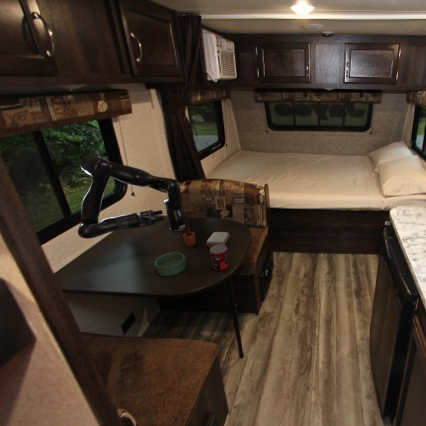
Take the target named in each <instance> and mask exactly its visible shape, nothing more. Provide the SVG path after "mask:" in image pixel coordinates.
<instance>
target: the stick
mask: <svg viewBox="0 0 426 426" xmlns="http://www.w3.org/2000/svg"><path fill="white" fill-rule="evenodd" d="M183 219H184V223H185V233H187V236H191V233H190V232H191V229H190V224H189V219H188V215H187V214H184V215H183Z"/></svg>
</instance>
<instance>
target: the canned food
mask: <svg viewBox="0 0 426 426" xmlns="http://www.w3.org/2000/svg"><path fill="white" fill-rule="evenodd" d="M209 254H210V260H211V265H212V269H213V271H219V272H221V271H225V270H226V269H228V268H229V266H230V262H229V254H228V247H227V245H226V244H225V245H215V246H213V247H211V248H209Z"/></svg>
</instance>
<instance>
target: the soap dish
mask: <svg viewBox="0 0 426 426" xmlns="http://www.w3.org/2000/svg"><path fill="white" fill-rule="evenodd" d="M229 239H230V233H229V232H225V231H214V232H212V234H211V235H210V236H209V237H208V239H207V240H206V243H205V245H206V247H207V248H209V249H210V248H211V247H213V246H215V245H225V246H226V244H227V242H228V241H229Z"/></svg>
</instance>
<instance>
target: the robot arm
mask: <svg viewBox="0 0 426 426" xmlns="http://www.w3.org/2000/svg"><path fill="white" fill-rule="evenodd" d="M79 166H80V168H81V169H82V171H84V173H86V174H88V175H90V176H91V185H90V188H89V189H88V192H87V193H86V194H85V196H83V199H82V202H81V208H80V209H81V210H80V216H81V217H80V221H79V222H80V223H79V226H78V229H77V235H78V236H79V237H80V238H82V239H87V240H88V239H94V238H97V237H100V236H103V235H106V234H108V233H114V232H118V231H126V230H131V229H137V228H140V227H141V228H142V227H149V226H154V225H155V224H156V223H158V222H162V221H164V220H165V219H164V216H162V215H163V214H164V213H163V210H161V209H160V210H153V209H149V210H143V211H140V212H139V215H138V213H137V212H133V213H127V214H122V215H118V216H117V215H116V216H113V217H107V218H104V219H102V220H100V221H99V217H100V215H101V209H102V207H101V206H102V201H103V197H104V194H105V192H106V188H107V185H108V182H109V180H110V178H112V179H115V180H117V181H119V182H121V183H124V184H128V185H130V186H135V187H140V188H148V189H153V190H155V191H158V192H160V193H162V194H167V198H165V199H164V200H163V205H164V208H165V212H166V217H167V221H168V225H169V230H170V232H179V231H183V230H186V228H185V223H184V219H183V215H185V213H184V209H183V204H182V190H181V184H180V183H179V181H178V180H177V179H175V178H170V177H163V176H156V175H153V174H151V173H150V172H148V171H147V170H144V169H140V168H138V167H134V166H130V165H126V164H121V163H116V162H113V161H110V160H108V159H106V158H103V157H101V156H99V155H96V154H87V155H85V156H83V157H82V158H81V159H80V161H79ZM155 216H157V217H155Z"/></svg>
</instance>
